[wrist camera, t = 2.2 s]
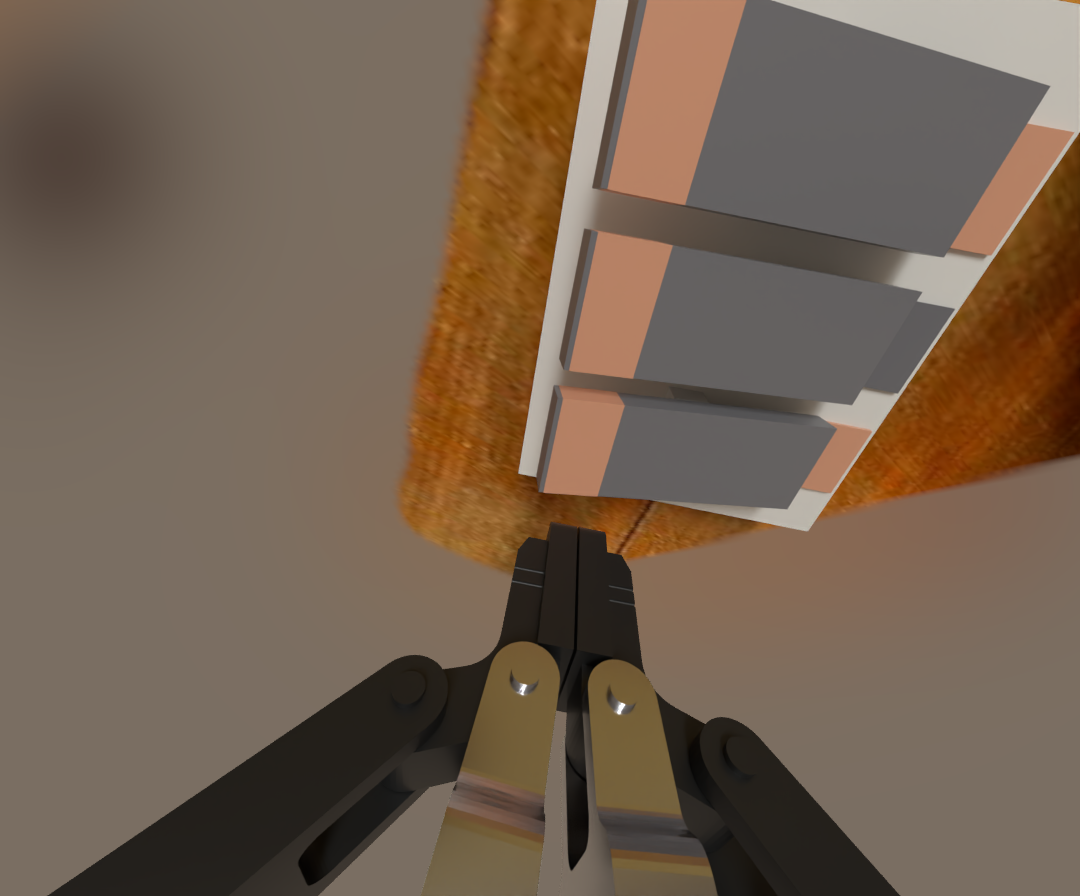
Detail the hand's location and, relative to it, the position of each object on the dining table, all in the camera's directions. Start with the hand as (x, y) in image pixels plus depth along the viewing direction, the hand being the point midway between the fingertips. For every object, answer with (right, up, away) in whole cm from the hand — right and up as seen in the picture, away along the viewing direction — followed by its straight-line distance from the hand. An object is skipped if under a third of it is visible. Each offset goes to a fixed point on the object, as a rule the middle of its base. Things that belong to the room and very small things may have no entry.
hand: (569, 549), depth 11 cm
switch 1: (+7, +12, +1) cm, 14 cm away
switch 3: (+5, +3, +6) cm, 9 cm away
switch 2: (+6, +7, +4) cm, 10 cm away
